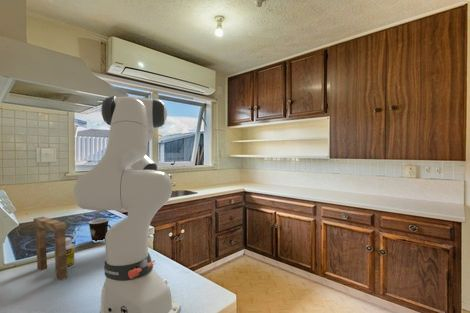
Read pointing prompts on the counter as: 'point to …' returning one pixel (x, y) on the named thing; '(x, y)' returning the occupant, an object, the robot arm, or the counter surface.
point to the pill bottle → (68, 253)
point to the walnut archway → (60, 244)
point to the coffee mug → (98, 229)
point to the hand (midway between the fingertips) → (95, 188)
